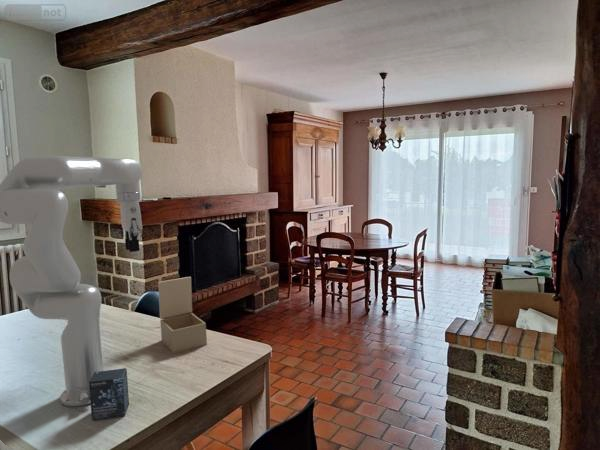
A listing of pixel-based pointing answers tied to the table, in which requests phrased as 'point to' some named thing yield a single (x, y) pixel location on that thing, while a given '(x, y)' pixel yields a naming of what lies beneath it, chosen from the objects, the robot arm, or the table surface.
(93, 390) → the box
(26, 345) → the table surface
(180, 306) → the door
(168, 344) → the tan open container
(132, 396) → the table surface
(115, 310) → the table surface
